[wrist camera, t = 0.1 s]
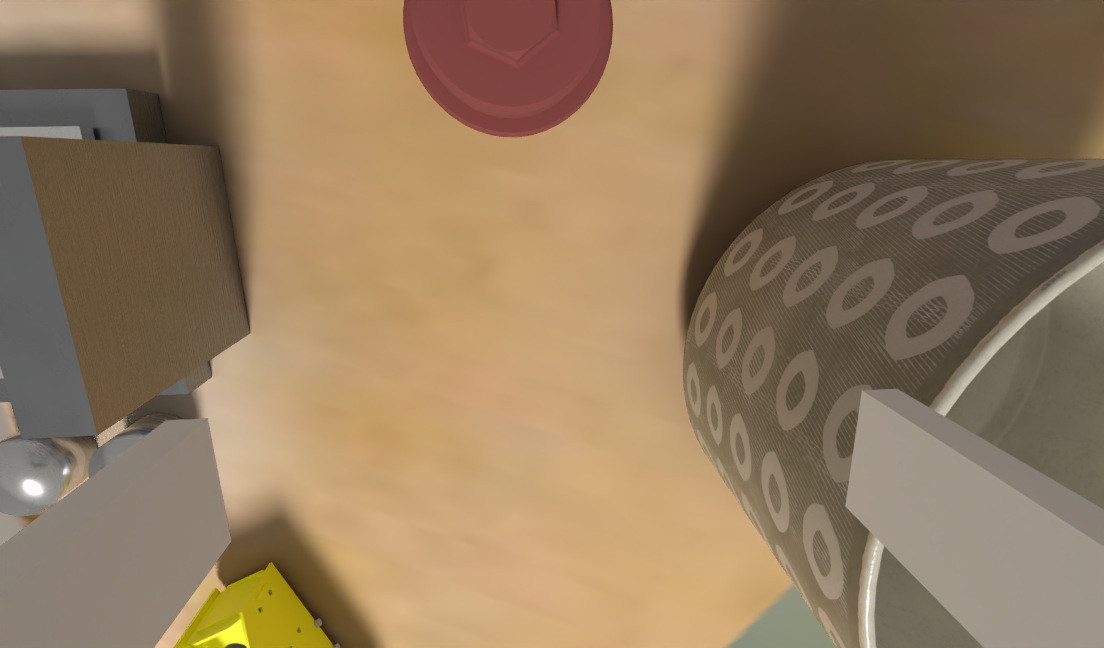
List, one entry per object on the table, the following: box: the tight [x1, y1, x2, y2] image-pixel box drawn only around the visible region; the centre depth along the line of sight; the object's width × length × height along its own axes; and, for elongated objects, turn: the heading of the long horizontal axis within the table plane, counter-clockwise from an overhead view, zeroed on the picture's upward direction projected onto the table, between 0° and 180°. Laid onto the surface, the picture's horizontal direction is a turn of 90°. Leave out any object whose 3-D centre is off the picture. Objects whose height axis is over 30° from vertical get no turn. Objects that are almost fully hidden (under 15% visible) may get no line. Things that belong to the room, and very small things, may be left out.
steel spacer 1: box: [0, 431, 98, 516], centre depth 38 cm, size 5×5×4 cm
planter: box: [683, 159, 1104, 648], centre depth 30 cm, size 25×25×24 cm
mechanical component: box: [403, 0, 613, 137], centre depth 29 cm, size 12×10×10 cm
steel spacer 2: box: [88, 413, 183, 478], centre depth 39 cm, size 5×5×4 cm
